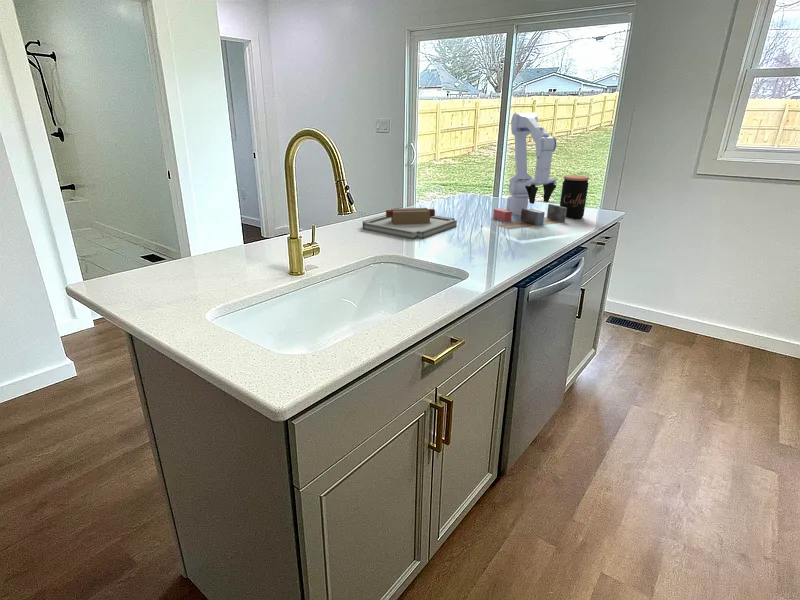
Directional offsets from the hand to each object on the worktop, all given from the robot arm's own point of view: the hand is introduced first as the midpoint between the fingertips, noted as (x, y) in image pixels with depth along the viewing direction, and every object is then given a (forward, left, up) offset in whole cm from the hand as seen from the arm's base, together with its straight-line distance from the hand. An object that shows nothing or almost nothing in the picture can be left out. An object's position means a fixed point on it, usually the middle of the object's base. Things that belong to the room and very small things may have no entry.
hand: (538, 202), depth 192 cm
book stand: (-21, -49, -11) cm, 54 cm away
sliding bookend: (-2, -3, -9) cm, 9 cm away
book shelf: (-2, -2, -10) cm, 10 cm away
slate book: (-2, 0, -9) cm, 9 cm away
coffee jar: (-6, +25, -10) cm, 27 cm away
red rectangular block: (-13, -8, -10) cm, 18 cm away
